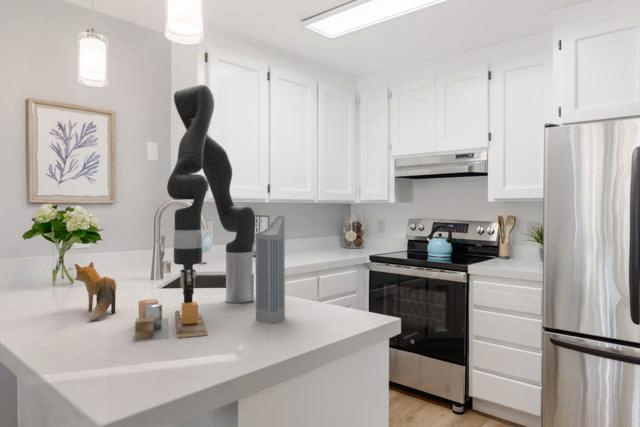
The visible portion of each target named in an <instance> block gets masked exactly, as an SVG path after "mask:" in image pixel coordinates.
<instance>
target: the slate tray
mask: <svg viewBox="0 0 640 427" xmlns="http://www.w3.org/2000/svg"><path fill="white" fill-rule="evenodd" d="M169 331H170V330H169V317H162V329H159V330H154V336H153V338H142V339H135V332H134V334H133V338H132V343H137V342H146V341H147V342H149V341H157V340H166V339H168V340H169V339H170V336H169V334H170V333H169Z"/></svg>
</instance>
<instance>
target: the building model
mask: <svg viewBox="0 0 640 427" xmlns="http://www.w3.org/2000/svg"><path fill="white" fill-rule="evenodd" d="M254 242H255V320H256V321H260V322H263V323H267V324H268V325H270V324H272V325H273V324H279V322H280V321H281V320H283V319H286V318H285V317H286V315H285V314H286V310H285V309H286V307H285V306H286V304H285V303H286V302H285V301H286V300H285V298H286V297H285V296H286V295H285V294H286V290H285V288H286V287H285V286H286V282H285V280H286V279H285V276H286V275H285V274H286V273H285V270H286V268H285V265H286V264H285V256H286V254H285V250H286V249H285V244H286V243H285V216H284V215H283V216H279V215H278V216H277V217H276V218H275V219H274V220H273V221H272V223H271V224H270V225H269V226H268V227H266V229H264V230H263V231H260V232H256V233H255V236H254Z"/></svg>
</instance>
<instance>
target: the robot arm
mask: <svg viewBox="0 0 640 427" xmlns="http://www.w3.org/2000/svg"><path fill="white" fill-rule="evenodd" d="M214 98H215V97H214V94H213V93H212V90H211V88H210V87H209V86H207V85H205V84H197V85H193V86H190V87H186V88H182V89H179V90H178V89H177V90H176V91H175V92H174V94H173V101H174V102H173V103H174V107H175V109H176V111H177V113H178V116H179V117H180V120H181V121H182V124H183V126H184V128H185V130H186V131H185V133H184V135H183V136H182V137H181V139H180V141H179V144H178V152H177V160H176V164H175V166H174V168H173V170H172V172H171V174H170V176H169V178H168V180H167V185H166V186H167V188H166V190H167V194H168V196H169V197H170V198H171V199H173V200H177V201H179V200H187V201H188V200H189V201H191V200H192V201H193V202H192V204H191V205H190V206H186V207H183V208H177V209H176V210H174V211H175V212H174V232H173V234H174V235H173V264H174V265H179V266H181V265H182V267H183V268H182V269H180V272H179V273H180V278H181V280H180V281H181V288H182V294H183V303H190V302H193V296H194V293H195V286H196V284H195V283H196V282H195V281H196V276H197V271H196V269H194V267H193V266H194V265H197V264H201V263H202V262H203V235H202V221H201V220H202V211H203V210H202V209H203V205H204V201H205V198H206V194H207V192H208V186H209V189H210V191H211V194H212V197H213V200H214V203H215V207H216V210H217V215H218V217H219V222H220V224H221V227H223V229H224V230H225V231H226V232H229V233H236V234H235V238H234V239H233V240H232V241H230V242H228V243H226V245H225V301H226V302H227V303H231V304H232V303H233V304H234V303H235V304H236V303H237V304H239V303H241V304H242V303H248V302H254V301H255V274H254V272H253V268H254V267H253V246H254V243H255V234H256V233H255V231H256V215H255V212H254V210H253V208H251V207H250V206H247V205H235V204H234V202H233V198H232V196H231V191H230V189H231V183H232V179H233V167H232V165H231V162H230V161H231V160H230V159H229V155H228V153H227V151H226V149H224V147H223V146H222V145H221V144H219V143H218V141H217V140H215V139H214V138H212V137H211V136H210V135H209V134H208V132H209V128H210V125H211V122H212V117H213V116H214V109H215V99H214ZM201 170H202V171H203V174H204V175H202V174H199V173H198V172H200V171H201Z"/></svg>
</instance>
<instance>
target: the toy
mask: <svg viewBox="0 0 640 427" xmlns="http://www.w3.org/2000/svg"><path fill="white" fill-rule="evenodd" d="M74 267H75V270H76V277H74V280H75V281H80V282H82V283H84V285H85V286H84V287H85V289H86V291H87V296H88V310H87V311H91V312H90V314H89V315H88V319H89V321H90V320H91V321H92V320H97V319H99V318H101V317H102V316H104V314H105V313H107V311H108V310H109V308H110V309H111V310H110V312H111V315H115V314H116V291H117V283H116V281H115V279H114V278H111V277H107V276H103V277H101V276H100V274H99V273H98V272H97V270H96V268H94V262H92V261H91V262H90V263H89V265H87V266H83V267H81V265H79V264H77V263H75V264H74ZM94 296H96V297H95V298H96V300H95V301H96V302H95V303H96V306H95V307H94V309H93V304H94V303H93V302H94Z"/></svg>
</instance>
